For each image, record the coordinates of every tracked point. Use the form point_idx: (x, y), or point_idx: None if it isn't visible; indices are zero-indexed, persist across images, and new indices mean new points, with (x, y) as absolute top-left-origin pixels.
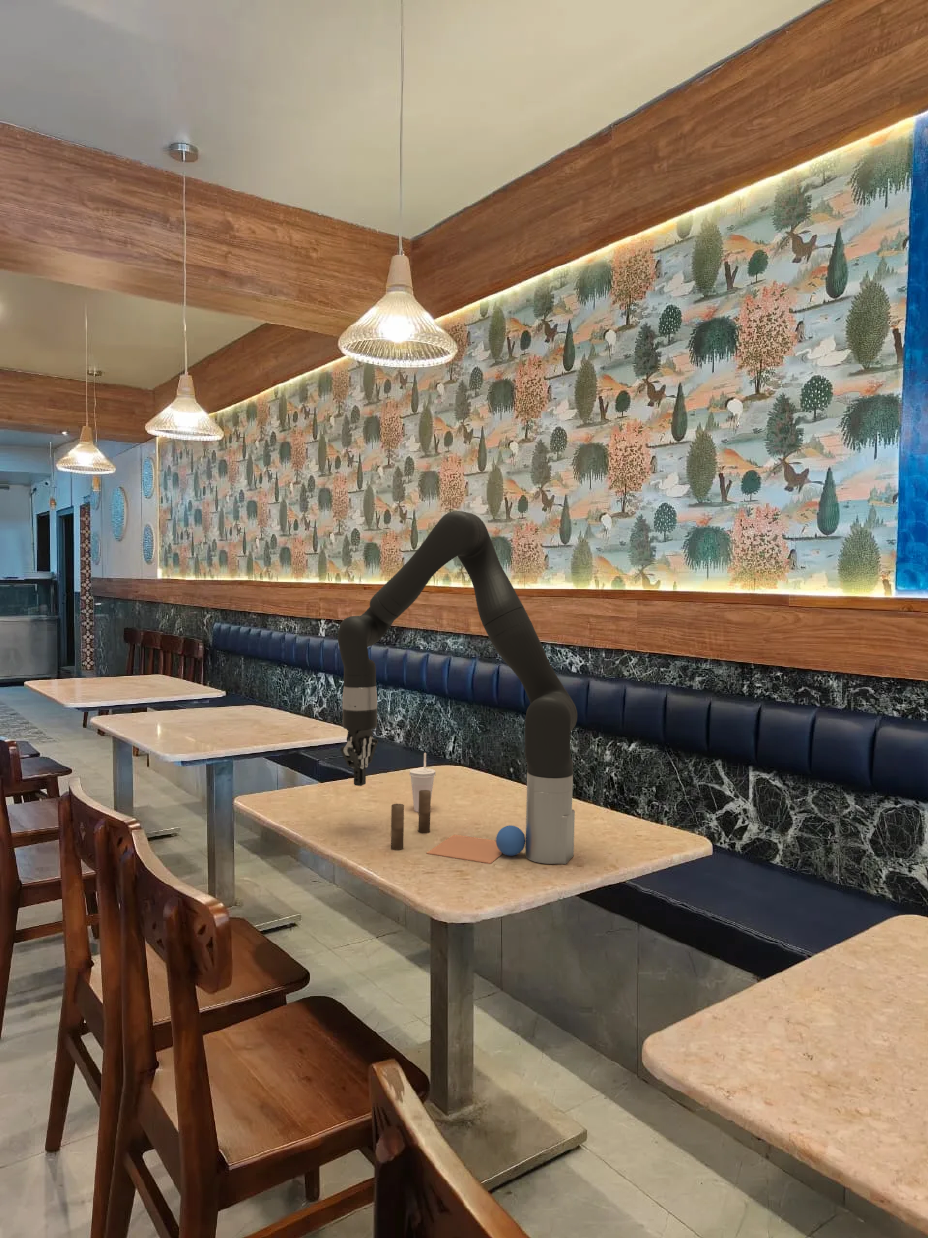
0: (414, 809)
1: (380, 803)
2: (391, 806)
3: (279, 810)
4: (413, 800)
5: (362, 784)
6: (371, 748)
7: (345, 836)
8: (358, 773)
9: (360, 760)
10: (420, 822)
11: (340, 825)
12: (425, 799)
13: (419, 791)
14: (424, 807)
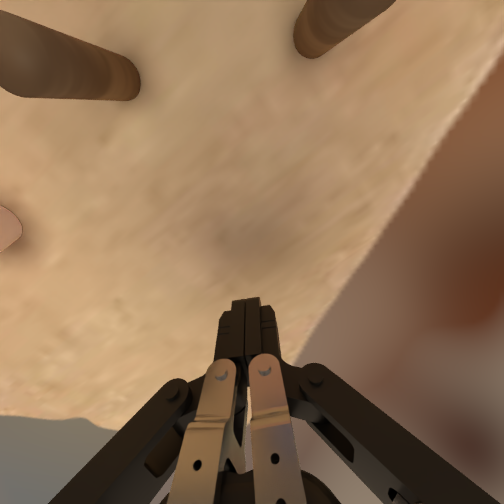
0: (19, 234)
1: (62, 318)
2: (389, 6)
3: None
4: (1, 249)
5: (258, 298)
6: (117, 489)
7: (296, 230)
8: (278, 344)
9: (286, 407)
10: (125, 77)
11: (238, 285)
12: (54, 36)
13: (43, 85)
14: (84, 48)
